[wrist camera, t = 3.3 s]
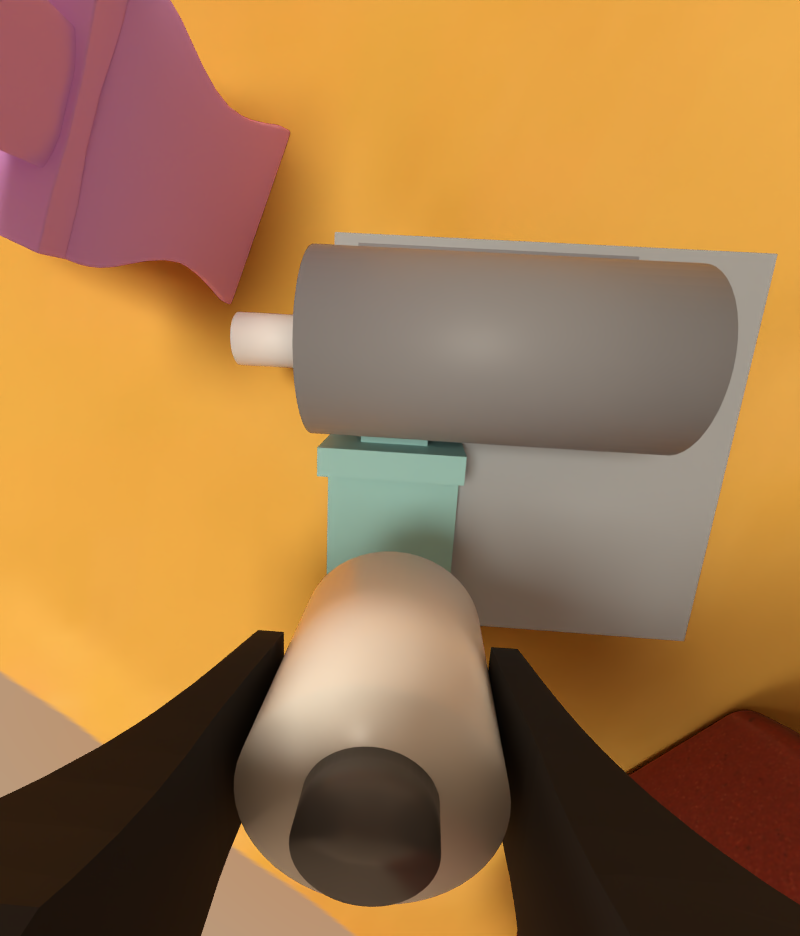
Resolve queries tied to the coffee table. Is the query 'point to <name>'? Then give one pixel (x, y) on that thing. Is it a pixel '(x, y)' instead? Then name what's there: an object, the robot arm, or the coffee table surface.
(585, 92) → the coffee table surface
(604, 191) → the coffee table surface
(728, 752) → the plant pot
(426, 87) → the coffee table surface
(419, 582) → the cream canister
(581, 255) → the motor assembly
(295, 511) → the coffee table surface
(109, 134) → the toy chair
